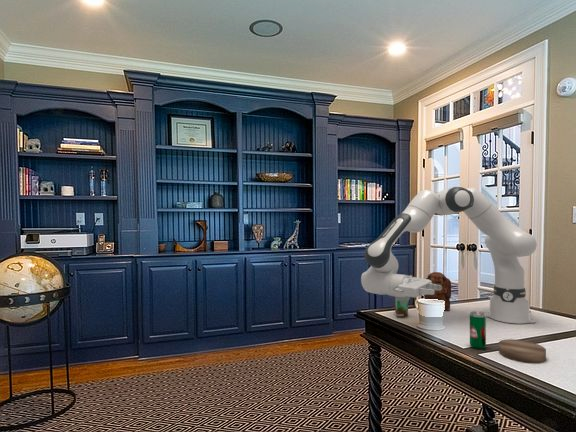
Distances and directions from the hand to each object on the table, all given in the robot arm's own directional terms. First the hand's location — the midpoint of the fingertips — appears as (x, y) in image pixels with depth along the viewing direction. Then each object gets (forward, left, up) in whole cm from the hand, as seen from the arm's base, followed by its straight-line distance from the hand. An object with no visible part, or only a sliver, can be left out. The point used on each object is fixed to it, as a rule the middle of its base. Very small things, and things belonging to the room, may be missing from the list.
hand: (437, 290), depth 137 cm
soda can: (0, +13, -18) cm, 23 cm away
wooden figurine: (-45, -12, -19) cm, 50 cm away
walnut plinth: (0, +26, -18) cm, 32 cm away
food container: (-25, -22, -19) cm, 38 cm away
